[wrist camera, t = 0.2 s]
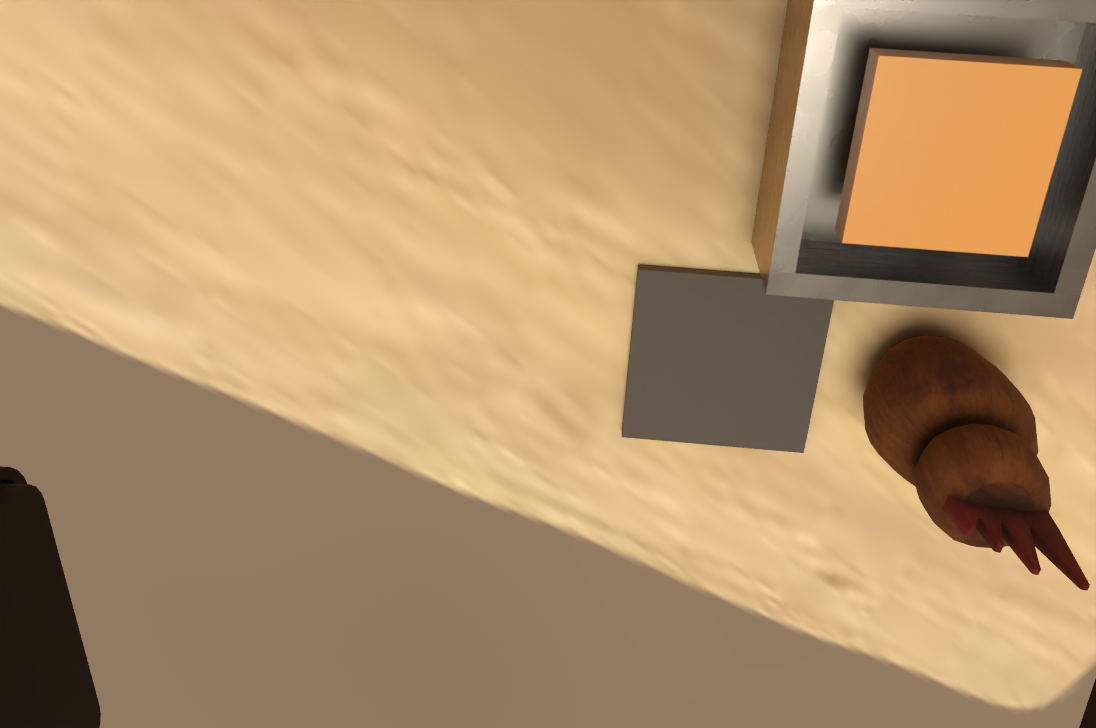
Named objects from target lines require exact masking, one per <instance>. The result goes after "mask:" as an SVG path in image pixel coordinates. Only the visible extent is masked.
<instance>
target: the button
mask: <svg viewBox="0 0 1096 728" xmlns="http://www.w3.org/2000/svg"><path fill="white" fill-rule="evenodd" d="M1081 73H1082V69H1081V68H1079V67H1077V66H1075V65H1073V64H1071V63H1069V62H1067V61H1065V60H1050V59H1034V58H1019V57H1004V56H988V55H973V54H958V53H943V52H927V51H912V50H897V49H881V48H870V49H869V54H868V60H867V65H866V70H865V75H864V80H863V86H862V91H861V96H860V101H859V106H858V112H857V117H856V122H855V127H854V132H853V138H852V143H851V148H850V153H849V158H848V164H847V169H846V174H845V179H844V185H843V190H842V195H841V200H840V205H839V211H838V216H837V221H836V226H835V230H836V232H837V234H838V236H839V238H840V240H841V242H842V243H848V244H862V245H875V246H888V247H901V248H914V249H927V250H941V251H954V252H967V253H980V254H993V255H1006V256H1020V257H1028V255H1029V252H1030V248H1031V245H1032V241H1033V238H1034V234H1035V231H1036V228H1037V224H1038V221H1039V217H1040V214H1041V210H1042V207H1043V203H1044V200H1045V197H1046V193H1047V190H1048V186H1049V183H1050V179H1051V176H1052V172H1053V169H1054V166H1055V162H1056V159H1057V155H1058V152H1059V148H1060V145H1061V141H1062V138H1063V135H1064V131H1065V128H1066V124H1067V121H1068V117H1069V114H1070V110H1071V107H1072V104H1073V100H1074V97H1075V93H1076V90H1077V86H1078V83H1079V79H1080V76H1081Z"/></svg>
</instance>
